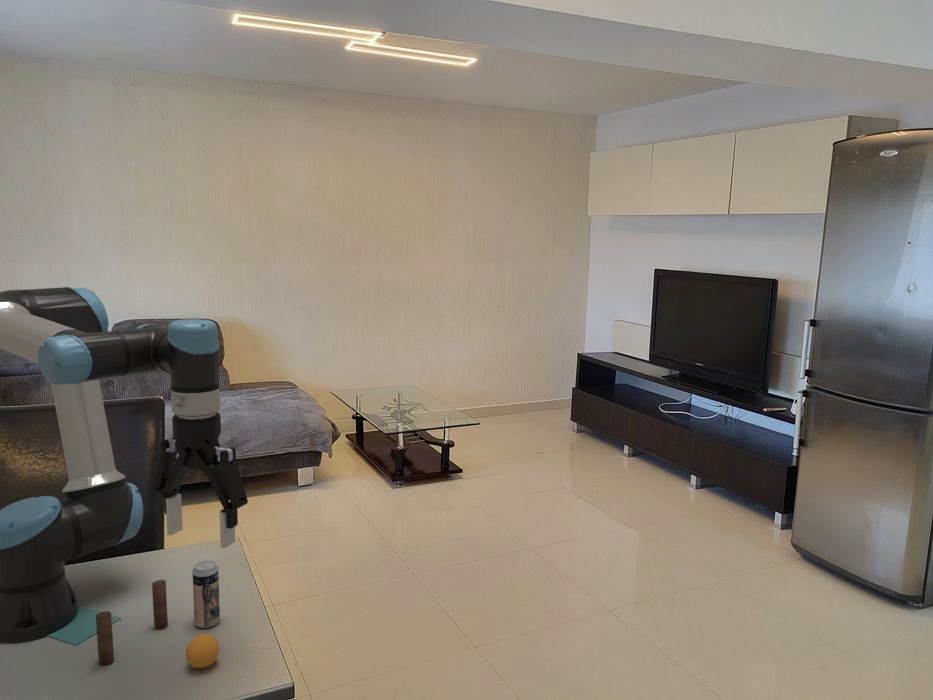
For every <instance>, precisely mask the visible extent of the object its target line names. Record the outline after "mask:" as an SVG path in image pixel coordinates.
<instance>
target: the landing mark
mask: <svg viewBox="0 0 933 700" xmlns="http://www.w3.org/2000/svg"><path fill="white" fill-rule="evenodd" d="M100 612H102V611H100V610H97V609H94V608H91V607H87V606H82V607H81V608H78V614H77V616H76V618H75V619H74V620H73V621H72V622H71V623H70V624H68V625H67V626H65V627H64V628H62V629H60V630H59V631H57V632H54V633H52V634H50V635H47V636H46V637H48V638H51V639H54V640H57V641H61V642H64V643H67V644H70V645H72V646H75V647H77V646H79V645H80V644H82V643H83V642H85V641H87V640H88V639H90V638H91V637H93V636H95V635H97V628H96V615H97V614H98V613H100ZM111 619H112V625H113V624H115V623H117V622H118V621H121V619H122V617H121V616H117V615H113V614H111Z"/></svg>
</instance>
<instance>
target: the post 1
mask: <svg viewBox="0 0 933 700" xmlns="http://www.w3.org/2000/svg"><path fill="white" fill-rule="evenodd" d="M111 615H112V612H111V611H106V610H105V611H101V612H100V613H98V614H97V615H96V628H97V634H96V640H97V642H96V643H97V653H98V654H97V655H98V666H101V667H106V665H107V666H110V665H112V664H113V663H114V662H115V653H114V637H113V624H112V619H111Z"/></svg>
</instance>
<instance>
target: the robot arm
mask: <svg viewBox="0 0 933 700" xmlns="http://www.w3.org/2000/svg"><path fill="white" fill-rule="evenodd" d="M109 325H110V323H109V318H108V313H107V311H106V307H105V305H104V304H103V301H102V300H101V299H100V297H99V296H98V295H97V294H96V293H95V292H94V291H93V290H91V289H88V288H85V287H69V286H65V287H63V286H62V287H50V288H49V287H48V288H47V287H46V288H33V289H31V288H30V289H28V288H27V289H10V290H2V291H0V354H10V353H11V354H14V355H16V356H17V357H21V358H23V359H26V360H28V361H30V362H33V363H34V364H38V368H39V370H40V373H41V375H42V376H43V377H44V380H45V381H46V382H47V383H49V384H50V385H51V390H52V395H53V400H54V406H55V412H56V417H57V422H58V428H59V433H60V438H61V442H62V443H61V444H62V449H63V455H64V459H65V464H66V465H65V466H66V470H67V475H68V481H67V483H66V484H65V486H64V487H63V488H62V496H63V500H59V499H58V498H57V497H55V496H51V495H41V496H38V497H35V496H33V497H28V498H24V499H21V500H17V501H15V502H13V503H10V504H8V505H6V506H5V507H3V508H1V509H0V642H1V643H22V642H28V641H34V640H37V639H38V640H39V639H40V638H43V637H48V636H47V635H50V634H52V633H54V632H57V631H59V630H60V629H62V628H64V627H65V626H67V625H68V624H70V623H71V622H72V621H73V620H74V619H75V618H76V616H77V614H78V610H79V606H78V605H79V604H78V598H77V596H76V595H75V592H74V590H73V588H72V587H71V584H70V583H69V580H68V577H66V567H65V562H67V561H69V560H72V559H75V558H78V557H81V556H86V555H88V554H91V553H93V552H96V551H99V550H103V549H105V548H108V547H114V546H115V547H116V546H117V545H119V544H120V543H123V542H125V541H127V540H130V539H132V538H134V537H135V536H136V535H137V534H138V532H139V530H140V528H141V525H142V523H143V519H144V518H143V517H144V504H143V498H142V495H141V493H140V492H139V488H138V487H137V486H136V485H135V484H134V483H131V482H127V479H126V475H125V474H123V473H121V472H119V471H118V470H117V469H116V464H115V458H114V454H113V448H112V447H113V446H112V443H111V437H110V431H109V425H108V421H107V416H106V411H105V405H104V399H103V395H102V394H103V393H102V388H101V383H100V380H104V379H112V378H117V377H125V376H132V375H139V374H147V373H153V372H162V373H168V374H169V377H170V378H169V379H170V380H169V381H170V396H171V397H170V400H171V412H172V414H174V415H173V416H172V418H171V421H172V423H171V424H172V437H169V438H166V439H163V440H161V442H160V458H159V461H158V465H157V469H156V474H155V478H154V482H153V486H152V490H153V493H159V494H160V495H161V497H162V498H163V511H164V514H165V515H166V530H167V536H170V537H171V536H173V535H175V534H176V533H179V532H181V531H183V527H184V526H183V509H182V508H183V507H182V494H181V493H179V492H180V491H181V490H179V489H180V487H181V485H182V484H183V481H184V479H185V477H186V475H188V472H189V470H190V469H196V470H198V471H201V473H202V474H203V475H204V476H205V477H207V478H208V481H209V483H210V485H211V486H212V488H213V490H214V492H215V495H216V496H217V498H218V501H219V502H220V505H221V506H222V509H220V510H219V531H220V532H219V533H220V534H219V535H220V538H219V539H220V549H227V548H228V547H229V546H231V545H233V544H235V543H236V527H237V526H238V524H239V523H238V522H239V520H238V519H239V518H238V509H241V508H242V507H243V506H246V505H247V504H248V502H249V500H248V498H247V497H248V496H247V494H246V493H247V492H246V490H245V487H244V484H243V480H242V477H241V473H240V469H239V466H238V464H237V451H236V448H235V447H234V446H231V447H228V448H226V447H221V445H220V442H219V438H220V437H221V436H220V435H221V434H222V433H221V432H222V419H221V416H222V415H221V414H220V413H219V411H220V410H221V394H220V393H221V391H220V389H221V388H220V342H219V337H218V327H217V324H216V323H215V322H214V321H212V320H209V319H200V318H199V319H197V318H196V319H195V318H189V319H178V320H173V321H171V322H170V323H169V325H168V327H167V326H166V325H161V324H142V325H139V326H138V327H136V328H132V329H131V328H129V329H121V330H120V329H119V330H112V331H111V330H110V331H109ZM177 454H178V457H177ZM176 458H177V459H176Z"/></svg>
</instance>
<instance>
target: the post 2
mask: <svg viewBox="0 0 933 700" xmlns="http://www.w3.org/2000/svg"><path fill="white" fill-rule="evenodd" d="M166 582H167V581H166V580H164V579H158V580H155V581H153V582H152V583H151V590H152V608H153V609H152V610H153V626H154V629H155V630H157V631H158V630H160V631H161V630H164V629H166V628H167V627H168V626H169V623H168V622H169V621H168V620H169V619H168V605H167V604H168V601H167V598H168V597H167V583H166Z"/></svg>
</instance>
